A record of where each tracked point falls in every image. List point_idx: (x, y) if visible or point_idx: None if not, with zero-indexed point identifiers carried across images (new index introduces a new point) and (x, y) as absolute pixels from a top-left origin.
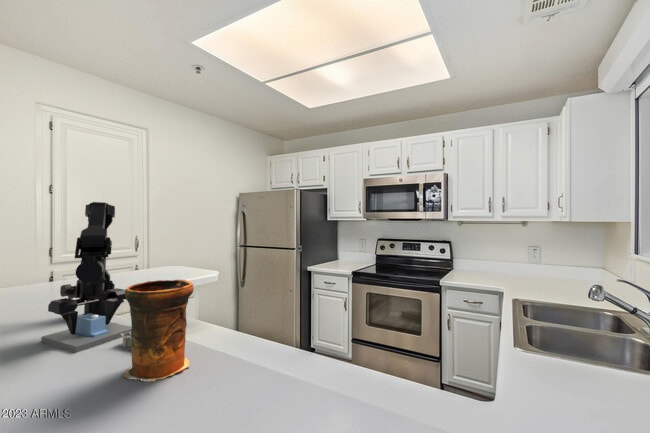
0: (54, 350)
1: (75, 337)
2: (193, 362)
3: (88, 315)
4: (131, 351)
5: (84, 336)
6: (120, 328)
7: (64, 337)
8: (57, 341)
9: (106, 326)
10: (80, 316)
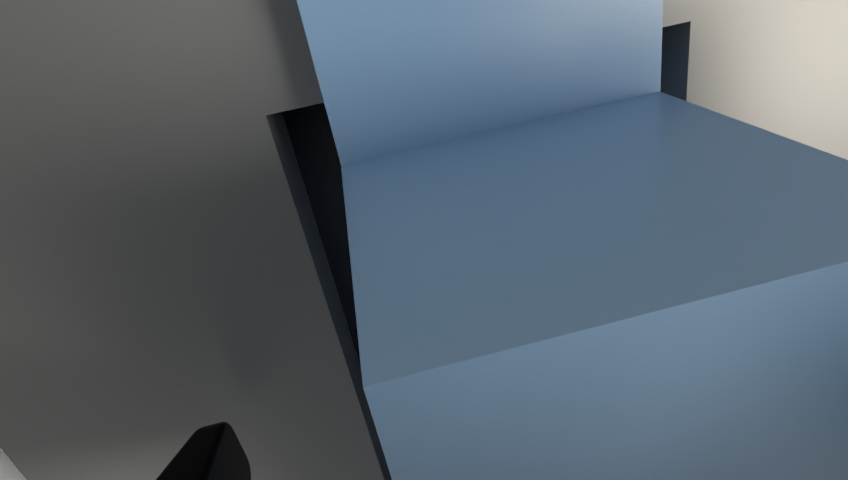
0: (13, 469)
1: (267, 435)
2: None
3: (747, 461)
4: None
5: (374, 471)
6: None
7: (116, 329)
8: (1, 439)
9: None
10: (525, 424)
